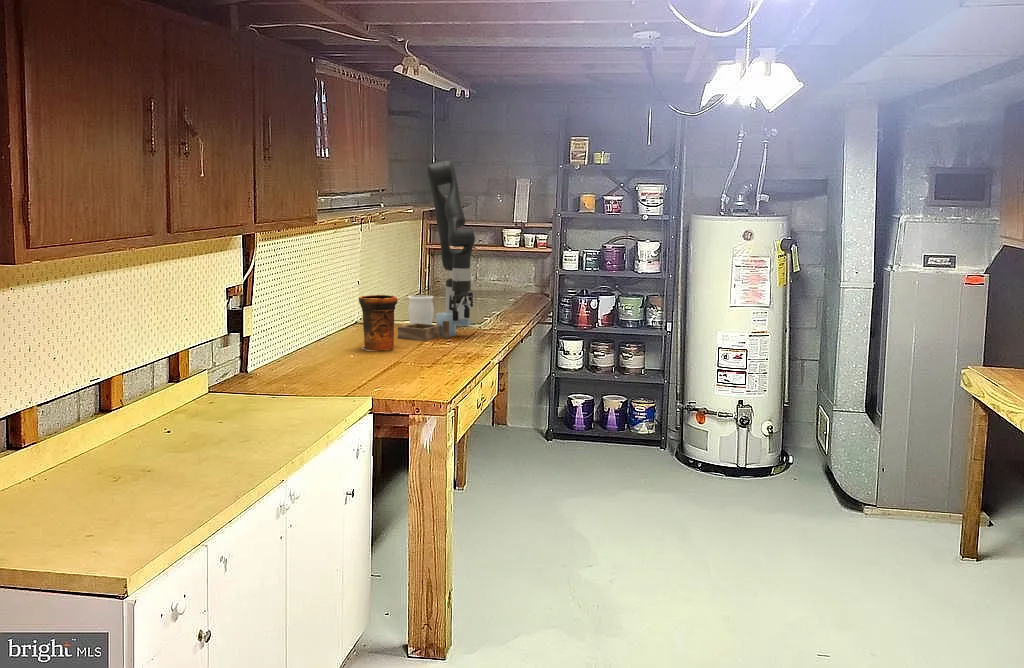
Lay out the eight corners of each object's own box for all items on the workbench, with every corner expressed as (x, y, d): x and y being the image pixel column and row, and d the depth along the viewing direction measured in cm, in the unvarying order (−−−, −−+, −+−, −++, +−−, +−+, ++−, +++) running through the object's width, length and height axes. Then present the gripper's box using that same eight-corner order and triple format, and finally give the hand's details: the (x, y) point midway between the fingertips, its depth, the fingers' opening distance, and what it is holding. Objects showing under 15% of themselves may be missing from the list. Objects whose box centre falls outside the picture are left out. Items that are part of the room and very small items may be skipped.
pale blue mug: (432, 335, 401) (432, 313, 400) (443, 333, 408) (443, 311, 407) (463, 339, 394) (463, 316, 393) (474, 336, 401) (474, 314, 399)
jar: (435, 330, 420) (435, 295, 418) (431, 333, 410) (431, 297, 408) (411, 329, 421) (410, 294, 419) (406, 333, 411) (405, 297, 409)
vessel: (365, 352, 364) (365, 298, 361) (354, 347, 377) (354, 295, 374) (403, 350, 370) (402, 297, 368) (391, 345, 383) (390, 294, 380)
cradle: (415, 335, 405) (415, 316, 404) (454, 339, 396) (454, 320, 395) (396, 340, 393) (395, 320, 392) (435, 344, 384) (435, 324, 383)
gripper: (462, 277, 404) (462, 316, 406) (443, 280, 391) (443, 320, 394) (478, 278, 400) (478, 318, 403) (459, 281, 388) (459, 322, 390)
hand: (461, 319), depth 398 cm, fingers open, 8 cm apart
